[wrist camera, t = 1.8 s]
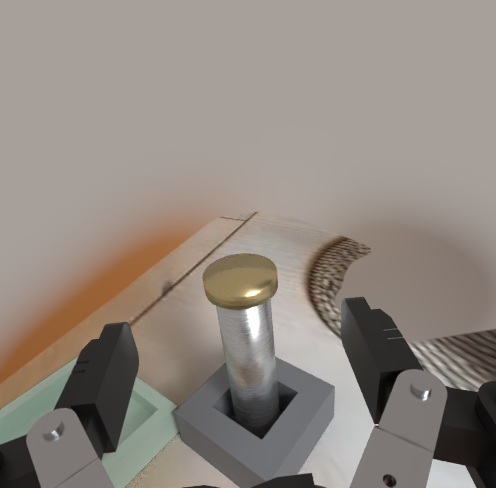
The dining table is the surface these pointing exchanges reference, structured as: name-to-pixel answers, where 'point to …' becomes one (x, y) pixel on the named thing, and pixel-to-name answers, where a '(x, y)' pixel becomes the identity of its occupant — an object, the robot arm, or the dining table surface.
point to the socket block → (247, 444)
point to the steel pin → (247, 335)
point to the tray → (133, 431)
